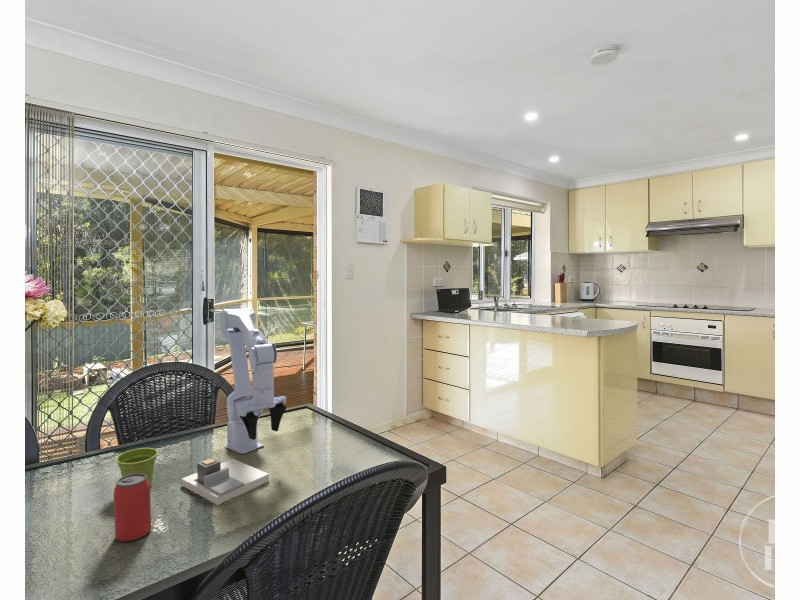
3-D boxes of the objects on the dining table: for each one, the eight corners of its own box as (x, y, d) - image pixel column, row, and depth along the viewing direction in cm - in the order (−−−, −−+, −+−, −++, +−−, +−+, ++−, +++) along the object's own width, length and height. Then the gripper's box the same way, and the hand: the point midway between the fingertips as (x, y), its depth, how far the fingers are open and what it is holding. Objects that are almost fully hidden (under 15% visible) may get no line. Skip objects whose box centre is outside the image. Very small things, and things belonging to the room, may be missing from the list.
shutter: (203, 487, 111) (203, 476, 111) (226, 477, 116) (226, 467, 116) (221, 496, 107) (220, 485, 107) (244, 485, 112) (244, 475, 112)
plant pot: (167, 482, 118) (166, 450, 117) (136, 500, 109) (134, 465, 108) (140, 477, 121) (139, 445, 120) (107, 493, 112) (106, 459, 111)
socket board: (181, 486, 116) (181, 478, 116) (232, 465, 128) (232, 458, 128) (217, 505, 106) (217, 497, 106) (268, 481, 119) (268, 473, 119)
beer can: (125, 525, 98) (123, 472, 97) (156, 524, 99) (155, 471, 98) (108, 544, 91) (106, 487, 91) (142, 542, 92) (140, 486, 91)
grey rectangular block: (197, 485, 115) (197, 462, 114) (212, 479, 118) (211, 456, 118) (206, 490, 113) (205, 466, 112) (220, 484, 116) (220, 460, 115)
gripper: (249, 395, 116) (250, 446, 117) (293, 383, 128) (293, 430, 129) (233, 390, 120) (234, 440, 121) (276, 380, 132) (277, 424, 133)
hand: (263, 434), depth 125 cm, fingers open, 7 cm apart
